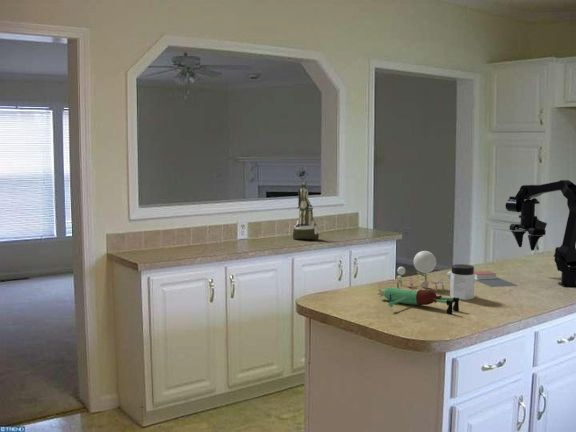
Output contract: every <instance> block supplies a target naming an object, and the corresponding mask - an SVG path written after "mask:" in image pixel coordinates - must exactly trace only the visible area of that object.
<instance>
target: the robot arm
mask: <svg viewBox="0 0 576 432" xmlns="http://www.w3.org/2000/svg"><path fill="white" fill-rule="evenodd" d="M558 191H560V192H561V193H562V196H563V197H564V198H565V199H567V200H566V204H567V205H566V206H567V207H568V210H569V211H568V217H567V220H566V225H565V230H564V235H563V239H562V244H561V245H560V246H557V247H555V250H554V251H555V252H554V255H553V257H554V262H555V266H556V268H557V269H556V270H557V271H558V272H561V278H560V282H559V281H558V282H557V284H558V285H560V286H562V287H565V288H566V287H567V288H575V287H576V184H575V183H573V182H572V181H571V180H569V179H560V180H557V181H552V182H548V183H543V184H523V185H520V188H519V190H518V192H517V193H516V194H515V196H509V198H508V199H507V200H506V202H505V209H506V211H508V212H512V213H520V214H519V215H518V218H519V219H520V223H511V224H510V225H509V230H510V232H511V233H512V235H513V237H514V239H515V241H516V244H517V246H518V248H522V247H523V242H524V241H523V239H524V235H525V234H526V233H528V235H527V238H528V241H529V242H528V243H529V249H530V251H535V249H536V246H537V243H538V241H539V239H540V238H542V237H544V236H546V231H547V230H546V228H547V225H548V223H547V222H544V221H542V220H540V219H539V218H538V216H537V215H536V205H540V201H539V200H538V199H537V197H540V196H541V195H544V194H547V193H553V192H558Z"/></svg>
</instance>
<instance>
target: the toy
mask: <svg viewBox="0 0 576 432" xmlns="http://www.w3.org/2000/svg"><path fill="white" fill-rule="evenodd" d="M377 291H378V293H377V296H378V297H379V298H382V297H384V298H385V299H386V300H388V301H387V302H388V306H389V307H390V308H392V307H394V305H395V304H405V305H417V306H427V305H431V304H433V303H435V304H436V303H440V304H443V303H444V304H446V306H448V307H447V308H446V310H445V311H446V313H447V314H448V315H452V314H453V312H459V311H460V307H459V303H460V302H459V301H460V299H459V298H455V297H453V298H452V297H446V296H445V297H443V296H442V295H437V293H436V291H435V290H434V291H433V290H432V289H428V288H425V289H418V290H415V289H414V290H410V289H404V288H397V287H393V286H392V287H390V286H389V287H386V288H385V289H383V288H382V287H379V289H378V290H377Z"/></svg>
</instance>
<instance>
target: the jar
mask: <svg viewBox="0 0 576 432" xmlns="http://www.w3.org/2000/svg"><path fill="white" fill-rule="evenodd" d="M451 271H452V272H451V279H449V280H450V287H449V288H450V289H449V291H450V292H449V296H450V298H453V297H455V298H459V301H460V300H461V301H467V300H473V299H474V298H475V281H476V280H475V274H474V272H475V266H474V265H471V264H464V263H463V264H462V263H459V264H452V265H451Z"/></svg>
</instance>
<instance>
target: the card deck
mask: <svg viewBox="0 0 576 432" xmlns="http://www.w3.org/2000/svg"><path fill="white" fill-rule="evenodd" d="M474 274H475V279H490V278H496V277H497V273H495V272H493V271H490V270H483V271H482V270H481V271H480V270H478V271H477V270H476V271H474Z"/></svg>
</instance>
